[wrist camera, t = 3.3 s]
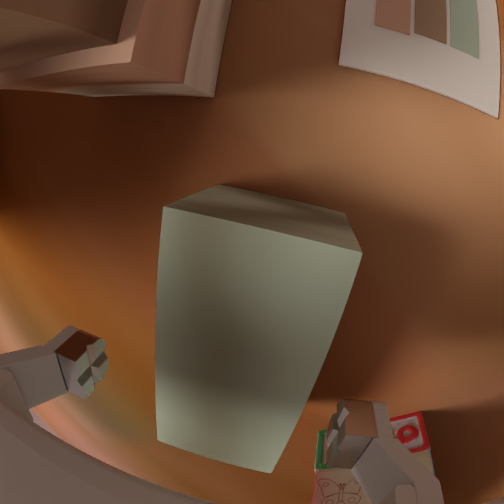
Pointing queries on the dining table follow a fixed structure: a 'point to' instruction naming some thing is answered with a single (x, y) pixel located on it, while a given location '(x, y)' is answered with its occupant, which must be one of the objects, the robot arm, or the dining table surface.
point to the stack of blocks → (342, 480)
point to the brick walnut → (55, 28)
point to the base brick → (140, 55)
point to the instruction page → (428, 46)
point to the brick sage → (245, 318)
